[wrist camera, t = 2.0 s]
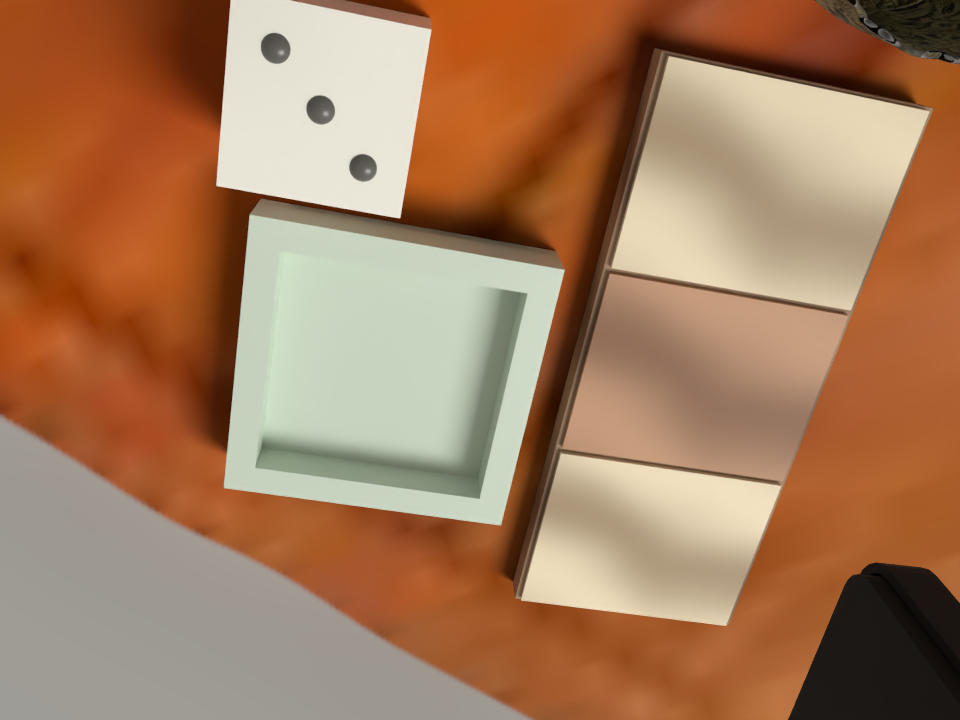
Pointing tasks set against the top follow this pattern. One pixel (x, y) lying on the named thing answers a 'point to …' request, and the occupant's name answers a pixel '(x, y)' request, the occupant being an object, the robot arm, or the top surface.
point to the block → (321, 101)
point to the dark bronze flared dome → (906, 24)
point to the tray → (385, 362)
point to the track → (709, 332)
